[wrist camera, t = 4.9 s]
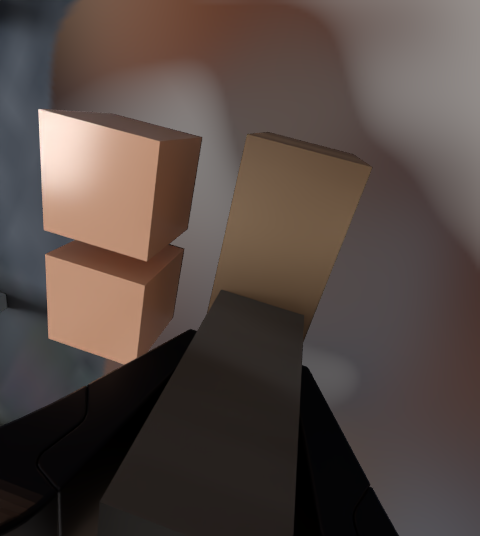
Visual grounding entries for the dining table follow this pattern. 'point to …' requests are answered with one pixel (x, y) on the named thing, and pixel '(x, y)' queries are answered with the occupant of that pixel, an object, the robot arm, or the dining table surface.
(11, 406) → the dining table surface
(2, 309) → the box
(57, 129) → the block
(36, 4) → the dining table surface
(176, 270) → the block
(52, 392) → the dining table surface
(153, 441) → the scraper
